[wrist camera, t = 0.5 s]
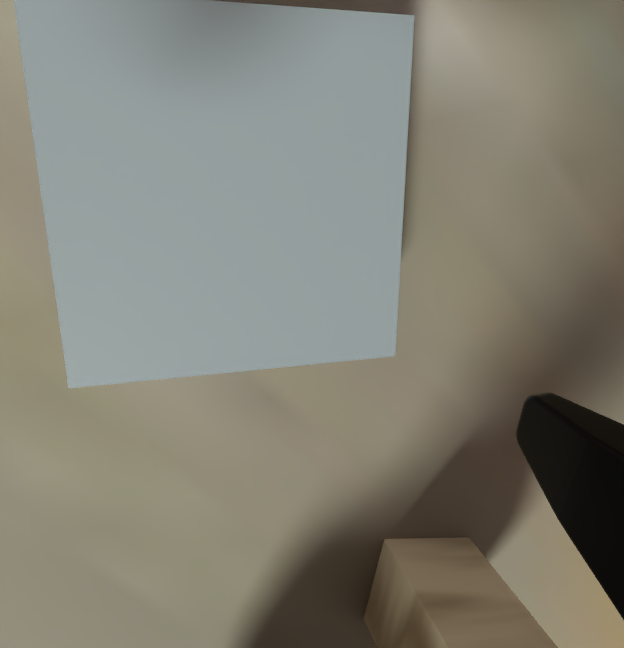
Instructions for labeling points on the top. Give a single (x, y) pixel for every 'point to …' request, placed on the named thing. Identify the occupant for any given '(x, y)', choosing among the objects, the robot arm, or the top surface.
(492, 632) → the birch block
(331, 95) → the base block
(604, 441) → the robot arm
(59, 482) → the top surface
